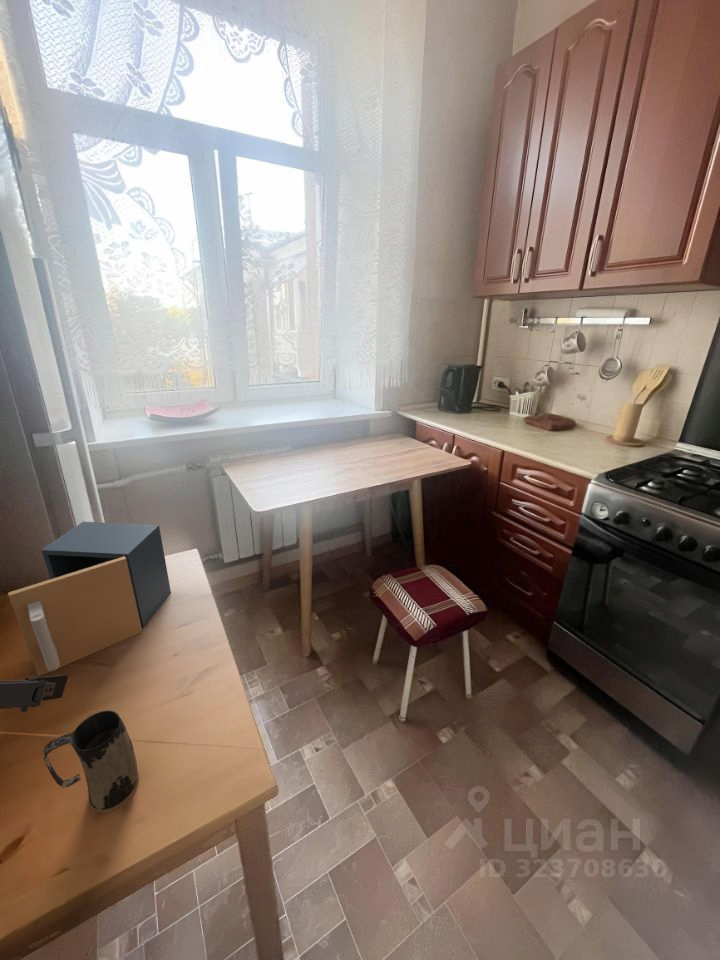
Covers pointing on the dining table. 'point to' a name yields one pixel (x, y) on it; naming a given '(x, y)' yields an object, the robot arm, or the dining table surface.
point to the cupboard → (113, 542)
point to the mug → (101, 760)
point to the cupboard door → (76, 614)
